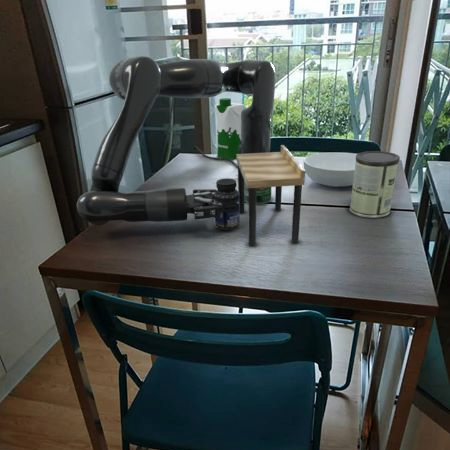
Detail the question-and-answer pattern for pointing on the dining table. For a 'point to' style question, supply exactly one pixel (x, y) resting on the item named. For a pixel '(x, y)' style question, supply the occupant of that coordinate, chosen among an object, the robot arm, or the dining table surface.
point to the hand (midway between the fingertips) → (236, 201)
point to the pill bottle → (227, 194)
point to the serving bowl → (331, 168)
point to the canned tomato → (258, 194)
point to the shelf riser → (270, 183)
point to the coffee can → (373, 183)
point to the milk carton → (228, 128)
